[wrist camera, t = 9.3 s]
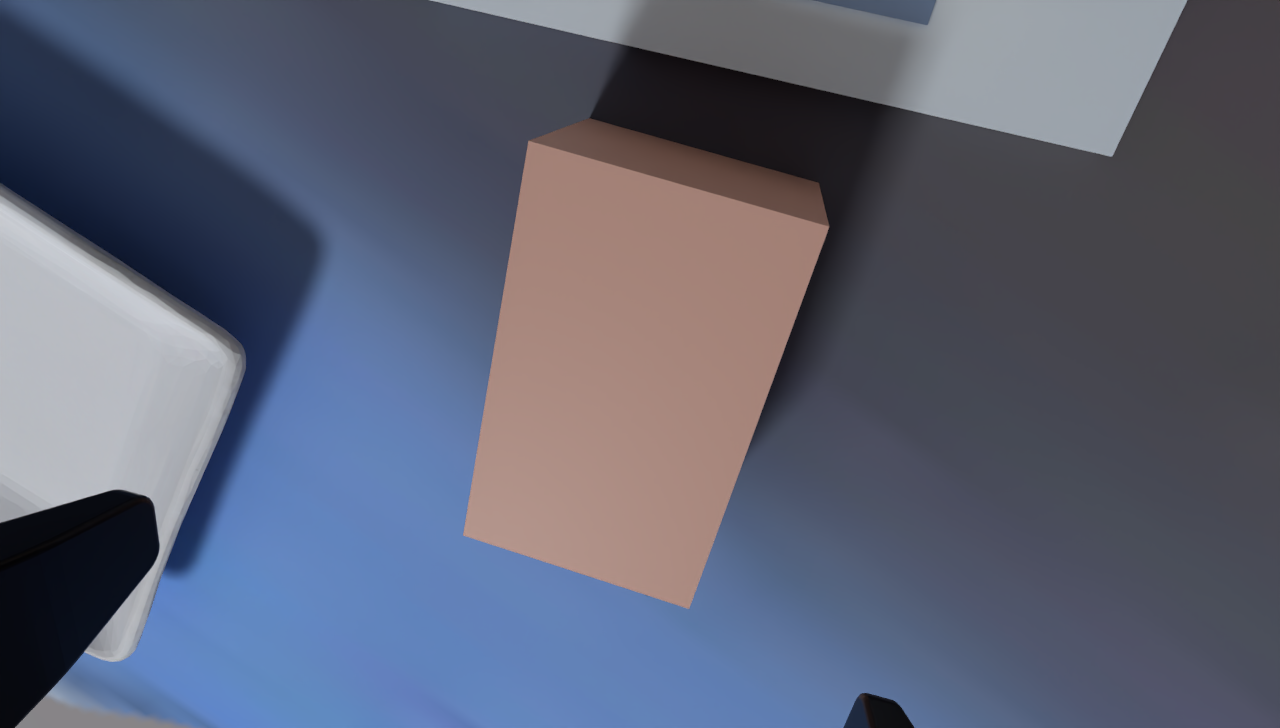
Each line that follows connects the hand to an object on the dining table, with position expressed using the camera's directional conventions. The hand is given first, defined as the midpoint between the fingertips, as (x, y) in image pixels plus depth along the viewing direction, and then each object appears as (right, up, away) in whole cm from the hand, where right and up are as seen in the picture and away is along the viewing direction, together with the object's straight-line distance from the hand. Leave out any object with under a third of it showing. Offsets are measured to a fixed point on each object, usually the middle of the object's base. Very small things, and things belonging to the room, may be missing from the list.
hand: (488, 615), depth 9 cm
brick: (+2, +4, +12) cm, 13 cm away
